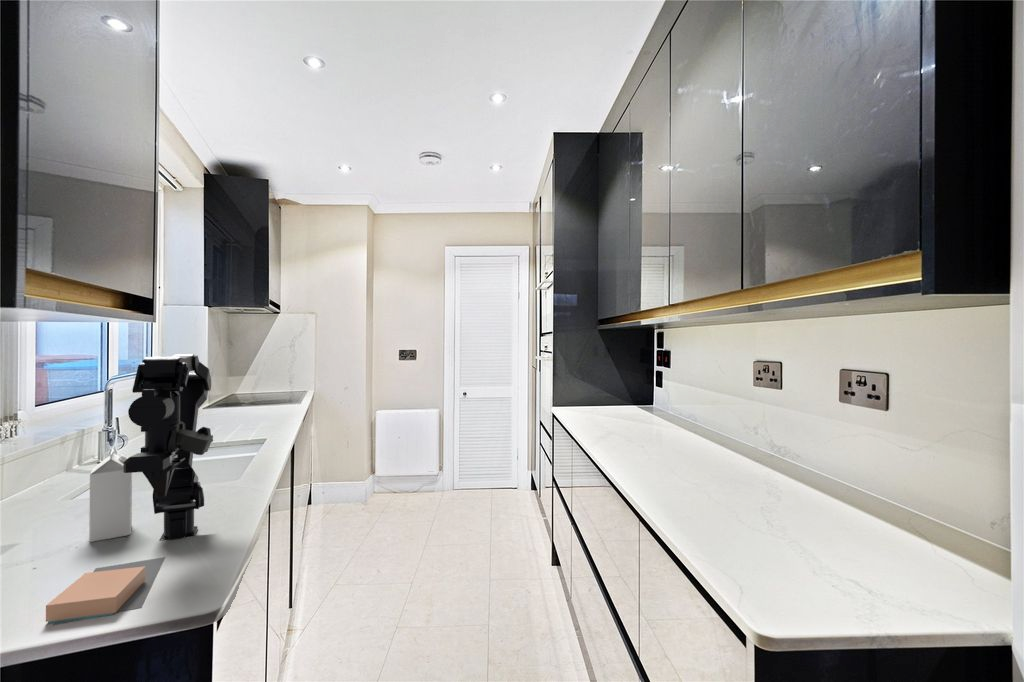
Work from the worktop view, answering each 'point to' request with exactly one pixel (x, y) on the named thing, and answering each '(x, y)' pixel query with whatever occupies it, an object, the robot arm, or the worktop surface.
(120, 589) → the tile
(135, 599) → the mat
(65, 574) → the worktop surface
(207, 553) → the worktop surface
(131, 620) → the worktop surface
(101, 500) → the milk carton
